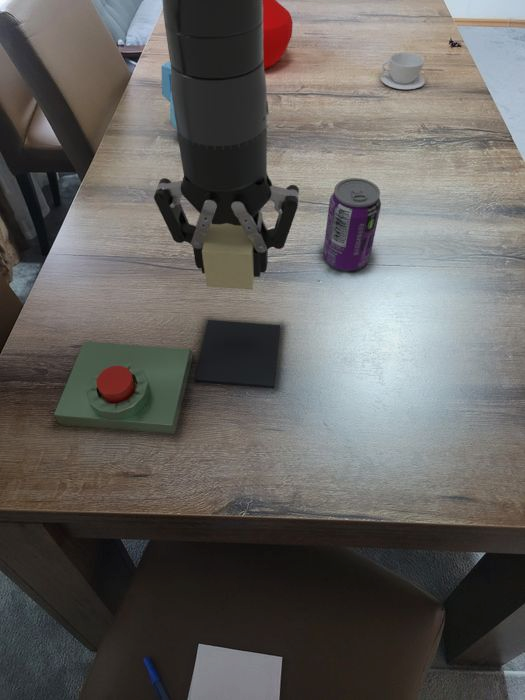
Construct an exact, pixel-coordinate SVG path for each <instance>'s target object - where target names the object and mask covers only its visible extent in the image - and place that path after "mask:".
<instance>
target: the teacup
mask: <svg viewBox="0 0 525 700" xmlns="http://www.w3.org/2000/svg"><path fill="white" fill-rule="evenodd" d="M424 63H425V59H424V57H423V56H421V55H419V54H417V53H414V52H407V51H401V52H396V53H393V54H392V55H390V57H389V60H386V61H384V62H383V63H382V67H381V70H382V72H383V73H382V74H381V75H380V81H381V82H382V83H383V84H384V85H386V86H387V87H390V88H393V89H397V90H415V89H418V88H421V87H422V86H424V85H425V83H426V79H425V77H424V76H423V75H422V74H421V71H422V68H423V65H424ZM385 65H387V66H388V70H387V69H386V68H385Z"/></svg>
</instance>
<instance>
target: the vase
mask: <svg viewBox="0 0 525 700" xmlns="http://www.w3.org/2000/svg"><path fill="white" fill-rule="evenodd" d="M293 24H294V23H293V18H292V15H291V13H290V11H289V10H288V9H287V8H285V7H284V6H283V4H281V3H280V2H278V0H263V62H264V70H267V69H269V68H271V67H273V66H274V65H275V64H276V63H278V62H279V60H280V59H281V58H282V57H283V55H284V54H285V53H286V51H287V49H288V46H289V45H290V40H291V39H292V36H293Z"/></svg>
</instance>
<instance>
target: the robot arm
mask: <svg viewBox="0 0 525 700" xmlns="http://www.w3.org/2000/svg"><path fill="white" fill-rule="evenodd" d="M162 12H163V13H162V14H163V21H164V28H165V36H166V43H167V49H168V56H169V62H171V87H172V99H173V106H174V113H175V120H176V126H177V132H176V133H177V139H178V146H179V151H180V159H181V164H182V172H183V177H182V180H179V181H173V182H172V181H171V180H170V179H168V178H166V177H163V178H161V179H160V180H159V182H158V185H157V187H156V190H155V192H154V194H153V200H154V202H155V204H156V206H157V208H158V210H159V212H160V214H161V217H162V218H163V221H164V223H165V225H166V227H167V229H168V231H169V234H170V235H171V238H172V239H173V241H174V242H175V243H178V244H181V243H182V244H183V243H184V242H185V243H188V244H190V245H191V247H192V250H193V258H194V262H195V266H196V268H197V269H201V273H202V274H205V271H204V264H203V256H202V249H203V245H204V241H205V238H206V235H207V233H208V230H209V227H210V225H211V222H212V224H219V225H220V224H226V223H228V224H232V225H236V226H242V228H243V230H244V232H245V234H246V236H247V237H249V238H250V240H251V242H252V244H253V246H254V250H253V267H254V278H261V273H264V274H265V273H266V271H267V269H268V262H269V249H272V248H273V249H276V250H281V249H283V248H284V247H285V244H286V242H287V239H288V236H289V233H290V230H291V227H292V225H293V222H294V218H295V216H296V213H297V210H298V206H299V196H300V189H299V186H297V185H295V184H290V185H288V186H287V187H286V188H284V187H280V186H276V185H273V183H272V180H271V179H270V177H269V175H268V167H267V166H268V165H267V164H268V161H267V160H268V154H267V153H268V148H267V147H268V141H267V140H268V133H267V132H268V131H267V129H268V126H267V125H268V120H267V119H268V117H267V116H268V115H267V113H268V110H269V104H268V103H269V102H268V98H267V97H268V96H267V95H268V94H267V81H266V74H265V69H264V62H263V0H162ZM183 197H184V198H185V200H187V202H188V203H190V205H191V206H192V207H193V208H194V209H195V210H196V211H197V212H198V213H199V215H198V217H197V221H196V224H195V225H194V224H190V222H189V220H188V218H187V215H186V212H185V211H184V209H183V205H182V204H181V202H182V198H183ZM269 201H272V202H273V204H274V206H273V207H274V210H275V211H276V212H277V214H278V215H277V218H276V222H275V225H274V227H273V228H270V229H268V227H267V224H266V222H265V221H264V217H263V213H262V209H263V207H265V206H266V205H267V203H268V202H269Z"/></svg>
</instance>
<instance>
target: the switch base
mask: <svg viewBox="0 0 525 700" xmlns="http://www.w3.org/2000/svg"><path fill="white" fill-rule="evenodd" d="M74 362H75V363H74V364H73V367H72V369H71V371H70V374H69V377H68V378H67V380H66V384H65V386H64V388H63V391H62V393H61V396H60V399H59V400H58V404H57V406H56V408H55V411H54V413H53V416H54V418H55V419H56V421H57V422H58V424H59V425H66V426H77V427H86V428H87V427H88V428H99V429H110V430H120V431H121V430H123V431H134V432H145V433H156V434H157V433H158V434H167V435H176V431H177V427H178V423H179V419H180V414H181V411H182V406H183V402H184V397H185V393H186V389H187V384H188V380H189V375H190V371H191V367H192V363H193V355H192V351H191V349H190V348H189V349H188V348H178V347H163V346H153V345H151V346H149V345H139V344H138V345H137V344H125V343H124V344H123V343H112V342H111V343H110V342H97V341H85V340H84V341H83V343H82V345H81V348H80V349H79V352H78V355H77V357H76V359H75V361H74ZM111 366H123V367H125V368H127V369H128V370H129V371H130V372H131V374H132V377H133V379H134V382H135V389H134V391H133V393H132V394H131V396H130V397H128V398H127V399H125V400H123V401H121V402H109V401H107V400H105V399H104V398H103V397H102V396H101V394H100V392H99V390H98V388H97V383H96V382H97V378H98V376H99V374H100V373H101V372H102V371H103V370H105V369H106V368H109V367H111Z"/></svg>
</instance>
